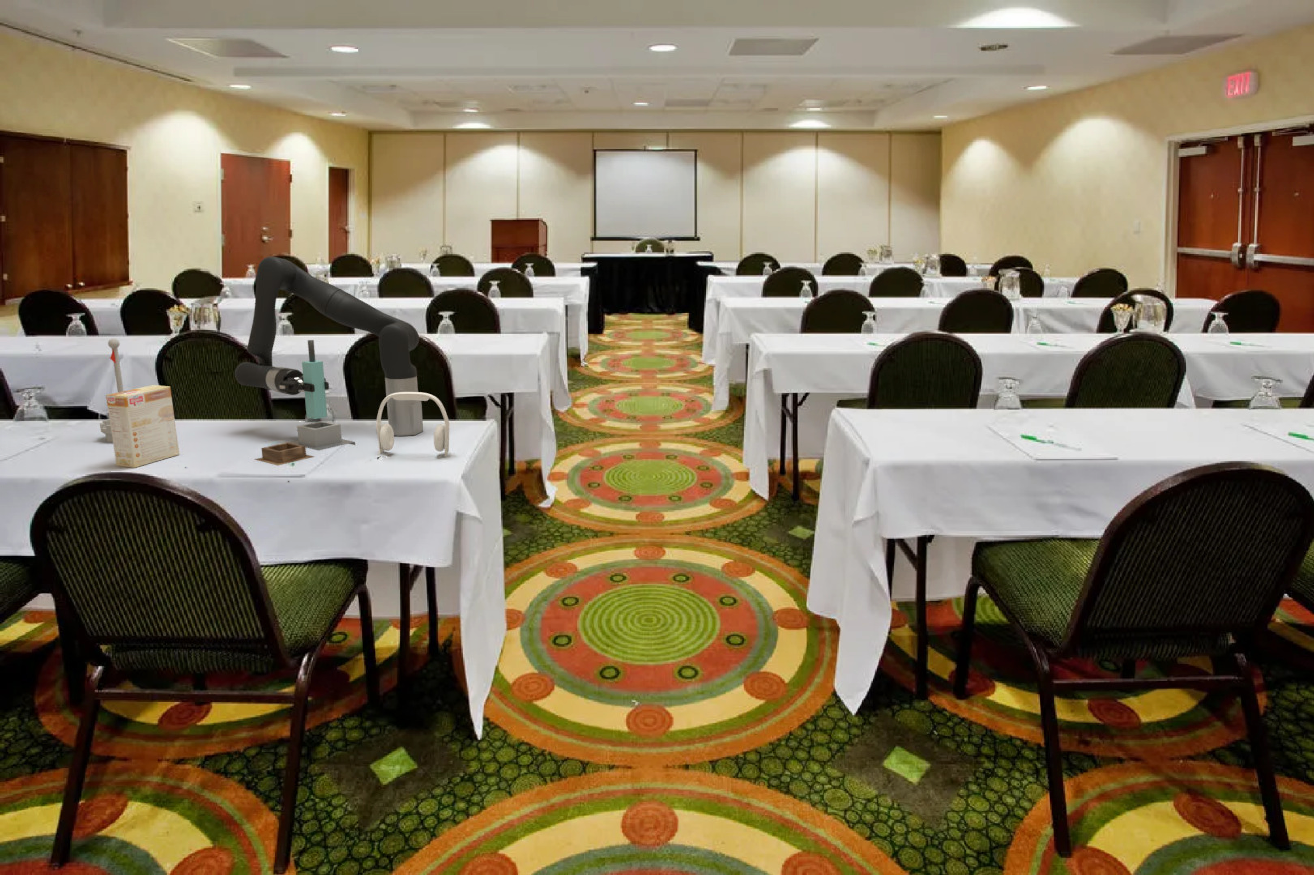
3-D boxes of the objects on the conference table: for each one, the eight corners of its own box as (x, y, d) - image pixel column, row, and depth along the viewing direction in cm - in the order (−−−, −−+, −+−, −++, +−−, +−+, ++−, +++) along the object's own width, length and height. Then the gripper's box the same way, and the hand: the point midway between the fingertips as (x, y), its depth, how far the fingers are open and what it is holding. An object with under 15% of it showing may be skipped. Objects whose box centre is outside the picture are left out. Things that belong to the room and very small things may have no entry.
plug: (319, 414, 276) (312, 339, 271) (327, 416, 274) (321, 340, 268) (306, 417, 273) (300, 340, 268) (315, 419, 271) (308, 341, 265)
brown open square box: (291, 454, 266) (289, 440, 265) (314, 460, 259) (313, 445, 258) (254, 462, 257) (253, 448, 256) (278, 469, 251) (276, 454, 250)
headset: (454, 452, 266) (450, 389, 262) (446, 459, 259) (442, 394, 255) (383, 452, 267) (378, 389, 263) (374, 458, 260) (369, 394, 256)
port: (321, 437, 285) (320, 418, 283) (355, 445, 275) (353, 424, 274) (285, 445, 275) (283, 425, 274) (319, 453, 266) (317, 432, 264)
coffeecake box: (161, 452, 269) (152, 384, 264) (180, 454, 266) (171, 385, 262) (114, 466, 255) (104, 394, 251) (134, 468, 253) (124, 395, 248)
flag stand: (109, 434, 291) (95, 336, 284) (156, 432, 294) (143, 334, 287) (96, 444, 279) (80, 342, 272) (145, 441, 282) (131, 340, 275)
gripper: (261, 371, 273) (297, 377, 263) (305, 364, 284) (341, 370, 274) (264, 397, 275) (299, 404, 265) (307, 389, 286) (343, 396, 276)
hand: (320, 387), depth 270 cm, fingers closed on plug, 4 cm apart
